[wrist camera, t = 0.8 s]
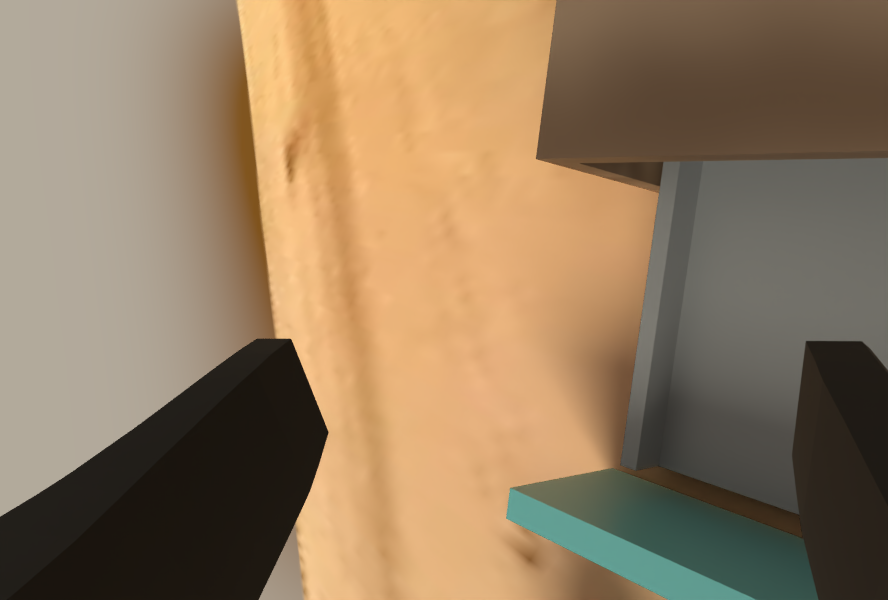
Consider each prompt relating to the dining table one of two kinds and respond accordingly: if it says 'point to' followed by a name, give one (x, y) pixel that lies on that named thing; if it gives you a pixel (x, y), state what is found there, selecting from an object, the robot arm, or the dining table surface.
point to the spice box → (713, 84)
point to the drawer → (728, 372)
